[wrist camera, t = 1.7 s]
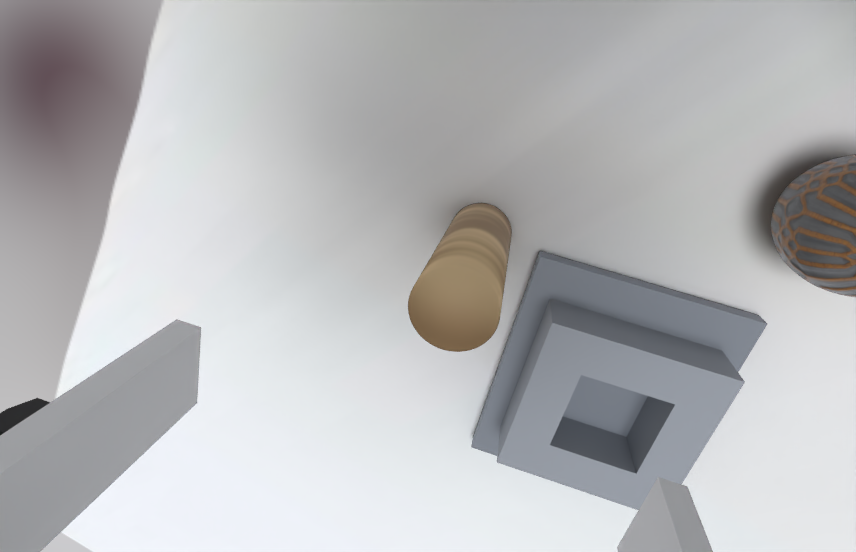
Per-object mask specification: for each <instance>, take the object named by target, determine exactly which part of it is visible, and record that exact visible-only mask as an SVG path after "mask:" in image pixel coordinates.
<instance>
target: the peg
mask: <svg viewBox="0 0 856 552" xmlns="http://www.w3.org/2000/svg"><path fill="white" fill-rule="evenodd" d="M510 242H511V226H510V223H509V220H508V218H507V217H506V215H505V214H504V213H503V212H502V211H501V210H500V209H498V208H497V207H495V206H493V205H490V204H486V203H475V204H471V205H468V206H466V207H464V208H463V209H462V210H460V211H459V212H458V213H457V214H456V216H455V217H454V219H453V221H452V222H451V224H450V226H449V227H448V229H447V231H446V233H445V234H444V236H443V238H442V239H441V241H440V243H439V244H438V246H437V248H436V250H435V251H434V253H433V255H432V256H431V258H430V260H429V261H428V263H427V265H426V266H425V268H424V270H423V272H422V273H421V275H420V277H419V278H418V280H417V282H416V283H415V285H414V287H413V289H412V291H411V293H410V296H409V301H408V311H409V316H410V320H411V322H412V324H413V326H414V328H415V330H416V331H417V332H418V334H419V335H420V336H421V337H422V338H423V339H425V340H426V341H427V342H428V343H430V344H432V345H433V346H435V347H438V348H440V349H443V350H447V351H455V352H460V351H468V350H472V349H475V348H477V347H479V346H481V345H482V344H484V343H485V342H487V341H488V340H489V339H490V338H491V336H492V335H493V334H494V332H495V331H496V329H497V326H498V324H499V320H500V313H501V306H502V299H503V292H504V285H505V277H506V270H507V263H508V256H509V249H510Z"/></svg>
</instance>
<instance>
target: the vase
mask: <svg viewBox="0 0 856 552" xmlns="http://www.w3.org/2000/svg"><path fill="white" fill-rule="evenodd" d="M771 232H772V237H773V241H774V244H775V247H776V249H777V251H778V253H779V254H780V256H781V258H782V259H783V260H784V262H785V263H786V264H787V265H788V266H789V267H790V268H791V269H792V270H793V271H794V272H796V273H797V274H798V275H799V276H801V277H802V278H803V279H805V280H807V281H808V282H810V283H811V284H813V285H815V286H817V287H820V288H822V289H824V290H827V291H830V292H833V293H837V294H841V295H845V296H851V297H856V155H850V156H844V157H839V158H836V159H832V160H829V161H826V162H823V163H821V164H818V165H816V166H814V167H812V168H811V169H809V170H807V171H805V172H804V173H802V174H801V175H800V176H798V177H797V178H796V179H794V180H793V181H792V182H791V183H790V184H789V185H788V186H787V187H786V188H785V190H784V191H783V192H782V194H781V195H780V197H779V198H778V200H777V202H776V204H775V207H774V210H773V214H772V220H771Z"/></svg>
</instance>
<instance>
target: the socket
mask: <svg viewBox="0 0 856 552" xmlns="http://www.w3.org/2000/svg"><path fill="white" fill-rule="evenodd" d="M766 325H767V323H766V322H765V321H764V320H763V319H762V318H761V317H760V316H759V315H756V314H753V313H750V312H746V311H743V310H739V309H736V308H733V307H729V306H726V305H722V304H719V303H716V302H712V301H709V300H705V299H702V298H699V297H695V296H692V295H688V294H685V293H682V292H678V291H675V290H672V289H668V288H665V287H661V286H658V285H655V284H651V283H648V282H644V281H641V280H638V279H634V278H631V277H627V276H624V275H621V274H617V273H614V272H610V271H607V270H604V269H600V268H597V267H594V266H590V265H587V264H583V263H580V262H577V261H573V260H570V259H566V258H563V257H560V256H556V255H553V254H549V253H546V252H543V251H540V252H539V254H538V257H537V260H536V263H535V266H534V268H533V271H532V274H531V277H530V280H529V282H528V285H527V288H526V291H525V293H524V296H523V299H522V302H521V305H520V307H519V310H518V313H517V316H516V319H515V321H514V324H513V327H512V330H511V332H510V335H509V338H508V341H507V344H506V346H505V349H504V352H503V355H502V358H501V360H500V363H499V366H498V369H497V371H496V374H495V377H494V380H493V383H492V385H491V388H490V391H489V394H488V397H487V399H486V402H485V405H484V408H483V410H482V413H481V416H480V419H479V422H478V424H477V427H476V430H475V433H474V436H473V440H472V446H471V447H472V448H475V449H478V450H481V451H484V452H487V453H490V454H493V455H496V456H497V462H498V463H501V464H504V465H507V466H510V467H512V468H515V469H518V470H521V471H524V472H527V473H530V474H533V475H536V476H539V477H542V478H545V479H548V480H551V481H554V482H557V483H560V484H563V485H566V486H569V487H572V488H575V489H578V490H580V491H583V492H586V493H589V494H592V495H595V496H598V497H601V498H604V499H607V500H610V501H613V502H616V503H619V504H622V505H625V506H628V507H631V508H634V509H637V510H639V509H640V507H641V505H642V504H643V502H644V500H645V498H646V497H647V495H648V493H649V492H650V490H651V488H652V486H653V485H654V483H655V481H656V480H657V478H658V477H660V478H663V479H666V480H669V481H672V482H675V483H678V484H682V483H683V481H684V479H685V478H686V476H687V474H688V473H689V471H690V470H691V468H692V466H693V465H694V463H695V462H696V460H697V458H698V457H699V455H700V453H701V452H702V450H703V449H704V447H705V445H706V444H707V442H708V441H709V439H710V437H711V436H712V434H713V432H714V431H715V429H716V428H717V426H718V424H719V423H720V421H721V420H722V418H723V416H724V415H725V413H726V411H727V410H728V408H729V407H730V405H731V403H732V402H733V400H734V399H735V397H736V395H737V394H738V392H739V391H740V389H741V387H742V386H743V384H744V380H743V379H742V378H741V376H740V375H739V373H738V371H739V370H740V368H741V367H742V365H743V363H744V362H745V360H746V358H747V357H748V355H749V353H750V352H751V350H752V348H753V347H754V345H755V343H756V342H757V340H758V338H759V337H760V335H761V334H762V332H763V330H764V329H765V327H766Z"/></svg>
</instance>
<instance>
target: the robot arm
mask: <svg viewBox="0 0 856 552" xmlns="http://www.w3.org/2000/svg"><path fill="white" fill-rule="evenodd" d="M200 338H201V327H198V326H195V325H192V324H189V323H186V322H183V321H180V320H175V321H174V322H172V323H171V324H169V325H168V326H166V327H165V328H163V329H162V330H160V331H158V332H157V333H155V334H154V335H152V336H151V337H149V338H148V339H146V340H145V341H143V342H142V343H140V344H139V345H137V346H136V347H134V348H133V349H131V350H130V351H128V352H127V353H125V354H123V355H122V356H120V357H119V358H117V359H116V360H114V361H113V362H111V363H110V364H108V365H107V366H105V367H104V368H102V369H101V370H99V371H98V372H96V373H95V374H93V375H92V376H90V377H88V378H87V379H85V380H84V381H82V382H81V383H79V384H78V385H76V386H75V387H73V388H72V389H70V390H69V391H67V392H66V393H64V394H63V395H61V396H60V397H58V398H57V399H55V400H54V401H52V402H47V401H44V400H41V399H38V398H36V399H33V400H31V401H28V402H25V403H22V404H20V405H17V406H14V407H11V408H8V409H6V410H5V411H3V412H2V413H0V552H40V551H41V550H42V549H43V548H44V547H45V546H47V545H48V544H49V543H50V542H51V541H52V540H53V539H54V538H55V537H56V536H57V535H58V534H59V533H60V532H61V531H62V530H63V529H64V528H66V527H67V526H68V525H69V524H70V523H71V522H72V521H73V520H74V519H75V518H76V517H77V516H78V515H79V514H80V513H81V512H82V511H83V510H85V509H86V508H87V507H88V506H89V505H90V504H91V503H92V502H93V501H94V500H95V499H96V498H97V497H98V496H99V495H100V494H101V493H102V492H104V491H105V490H106V489H107V488H108V487H109V486H110V485H111V484H112V483H113V482H114V481H115V480H116V479H117V478H118V477H119V476H120V475H121V474H123V473H124V472H125V471H126V470H127V469H128V468H129V467H130V466H131V465H132V464H133V463H134V462H135V461H136V460H137V459H138V458H139V457H140V456H142V455H143V454H144V453H145V452H146V451H147V450H148V449H149V448H150V447H151V446H152V445H153V444H154V443H155V442H156V441H157V440H158V439H159V438H161V437H162V436H163V435H164V434H165V433H166V432H167V431H168V430H169V429H170V428H171V427H172V426H173V425H174V424H175V423H176V422H177V421H178V420H180V419H181V418H182V417H183V416H184V415H185V414H186V413H187V412H188V411H189V410H190V409H191V408H192V407H193V406H194V405H195V404H196V403H197V394H198V375H199V357H200ZM617 548H618V552H713V551H712V548H711V546H710V543H709V541H708V538H707V536H706V533H705V531H704V528H703V525H702V523H701V520H700V518H699V515H698V513H697V510H696V508H695V505H694V502H693V500H692V497H691V495H690V492H689V490H688V487H687V486H684V485H681V484H678V483H675V482H672V481H669V480H666V479H663V478H660V477H658V478H657V480H656V481H655V483H654V485H653V486H652V488H651V490H650V492H649V493H648V495H647V497H646V498H645V500H644V502H643V504H642V505H641V507H640V509H639V511H638V512H637V514H636V516H635V517H634V519H633V521H632V523H631V524H630V526H629V528H628V529H627V531H626V533H625V535H624V536H623V538H622V540H621V542H620V543H619V545H618V547H617Z"/></svg>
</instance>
